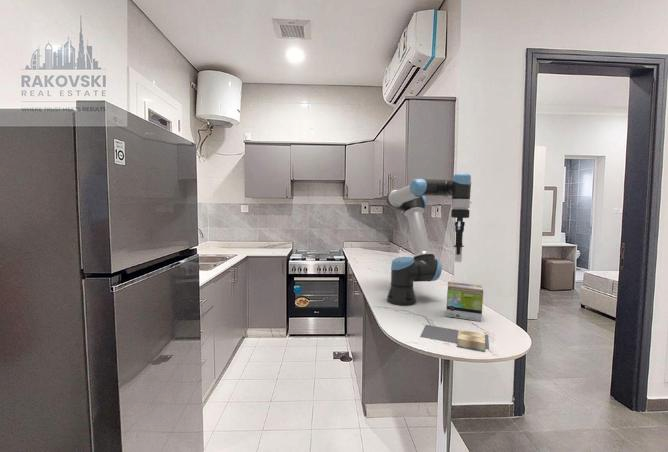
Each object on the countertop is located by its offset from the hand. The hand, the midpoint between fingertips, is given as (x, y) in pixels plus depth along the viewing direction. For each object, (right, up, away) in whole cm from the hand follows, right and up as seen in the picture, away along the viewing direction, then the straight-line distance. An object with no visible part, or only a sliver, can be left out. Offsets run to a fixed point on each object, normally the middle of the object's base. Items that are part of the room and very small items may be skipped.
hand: (458, 261), depth 142 cm
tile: (-3, -26, -22) cm, 34 cm away
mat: (-9, -28, -19) cm, 34 cm away
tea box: (+5, -26, +6) cm, 28 cm away
